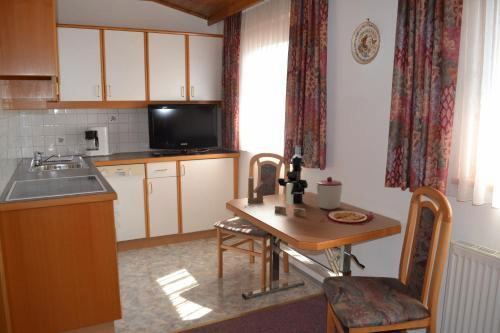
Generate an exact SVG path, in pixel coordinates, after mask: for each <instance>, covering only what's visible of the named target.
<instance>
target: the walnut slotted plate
mask: <svg viewBox="0 0 500 333" xmlns="http://www.w3.org/2000/svg"><path fill="white" fill-rule="evenodd" d="M274 213H275V214H281V215H286V214H287V206H283V205H274ZM293 216H295V217H303V218H304V217H306V208H300V207H299V208H298V207H294V208H293Z"/></svg>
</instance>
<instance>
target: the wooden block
mask: <svg viewBox="0 0 500 333" xmlns="http://www.w3.org/2000/svg"><path fill="white" fill-rule="evenodd" d="M247 180H248V197H247V203H248V204H256V203H263V202H264V182H263V181H260V182H259V184H258V185H256V187H255V186H254V185H255V184H254V181H255V180H254V177H248V178H247ZM254 187H255V188H254ZM254 194H256V196H254Z"/></svg>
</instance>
